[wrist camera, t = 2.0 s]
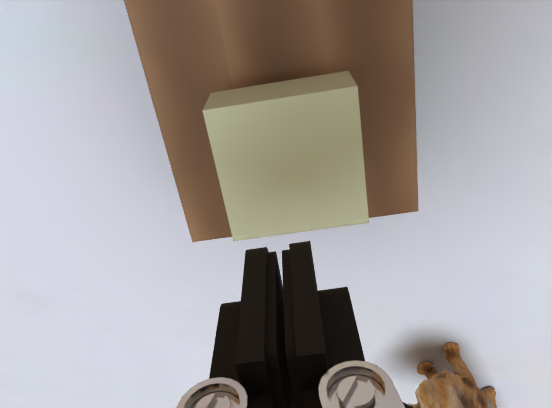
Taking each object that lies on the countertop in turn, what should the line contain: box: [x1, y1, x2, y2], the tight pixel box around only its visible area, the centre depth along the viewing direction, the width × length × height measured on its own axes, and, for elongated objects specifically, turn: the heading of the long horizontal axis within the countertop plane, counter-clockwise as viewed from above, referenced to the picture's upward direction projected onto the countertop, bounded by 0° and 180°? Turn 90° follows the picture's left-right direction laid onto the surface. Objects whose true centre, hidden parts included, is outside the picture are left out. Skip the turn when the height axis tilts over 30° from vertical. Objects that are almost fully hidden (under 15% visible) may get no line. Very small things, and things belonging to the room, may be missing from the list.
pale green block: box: [202, 71, 369, 241], centre depth 22 cm, size 6×6×7 cm
